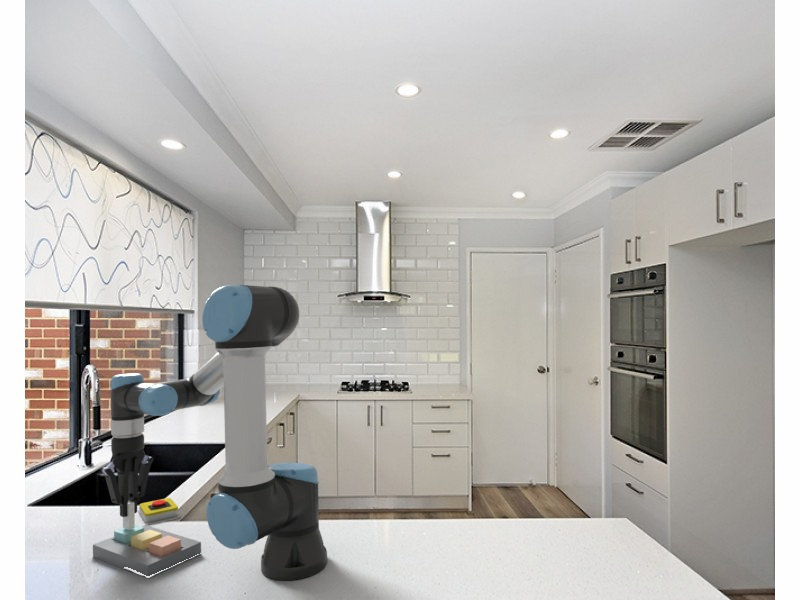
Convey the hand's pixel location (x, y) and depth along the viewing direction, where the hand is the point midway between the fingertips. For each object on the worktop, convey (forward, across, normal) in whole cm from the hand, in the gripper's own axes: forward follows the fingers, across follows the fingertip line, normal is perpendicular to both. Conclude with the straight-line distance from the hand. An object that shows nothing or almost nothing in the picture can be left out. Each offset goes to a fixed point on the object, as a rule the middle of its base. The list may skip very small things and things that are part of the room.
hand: (128, 527), depth 136 cm
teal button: (+3, 0, 0) cm, 3 cm away
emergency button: (+6, -19, -16) cm, 26 cm away
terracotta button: (+3, 0, +15) cm, 16 cm away
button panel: (+5, 0, +8) cm, 9 cm away
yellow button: (+3, 0, +8) cm, 8 cm away
